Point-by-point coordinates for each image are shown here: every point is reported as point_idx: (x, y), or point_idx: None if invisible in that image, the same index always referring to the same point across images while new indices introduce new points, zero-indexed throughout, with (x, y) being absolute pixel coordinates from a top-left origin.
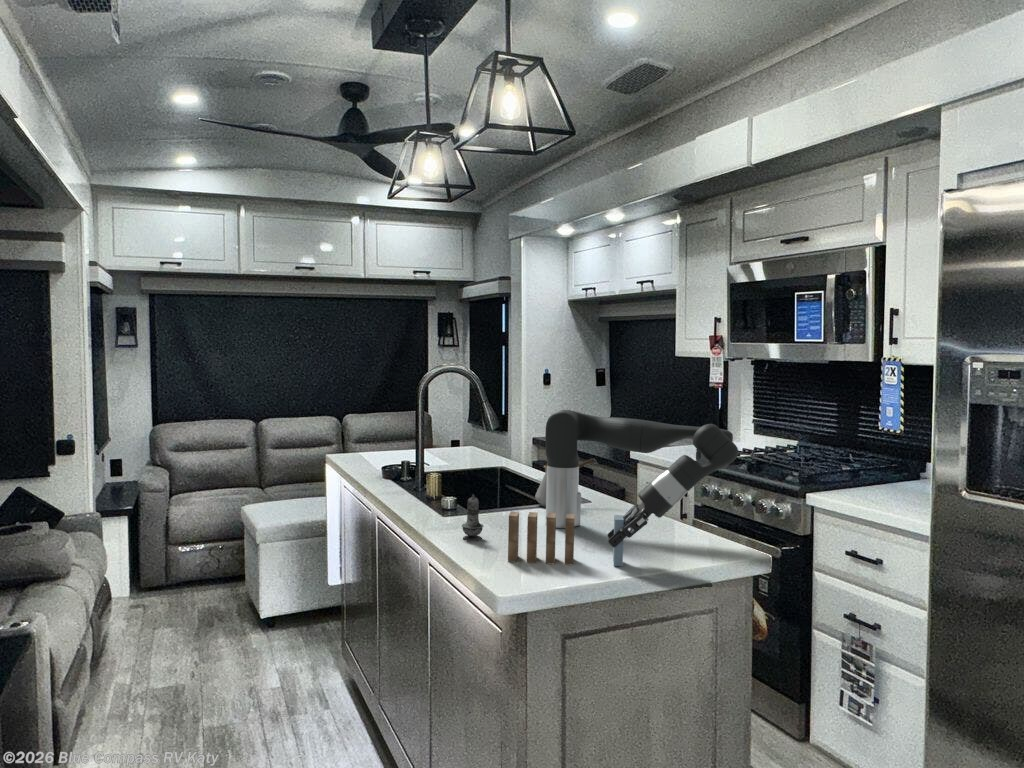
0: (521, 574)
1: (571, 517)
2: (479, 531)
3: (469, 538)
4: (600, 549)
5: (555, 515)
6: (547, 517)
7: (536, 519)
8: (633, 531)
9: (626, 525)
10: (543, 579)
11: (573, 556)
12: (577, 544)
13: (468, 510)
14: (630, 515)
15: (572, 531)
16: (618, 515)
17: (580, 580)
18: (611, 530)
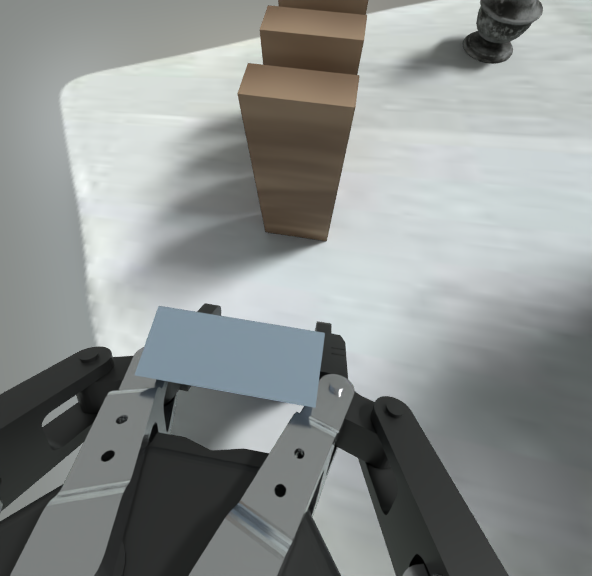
0: (193, 117)
1: (264, 85)
2: (489, 30)
3: (473, 37)
4: (454, 345)
5: (310, 34)
6: (268, 8)
7: (305, 4)
8: (54, 429)
9: (67, 381)
10: (147, 154)
11: (306, 231)
12: (503, 276)
13: None
14: (117, 455)
15: (250, 147)
16: (302, 364)
17: (119, 231)
18: (330, 339)
